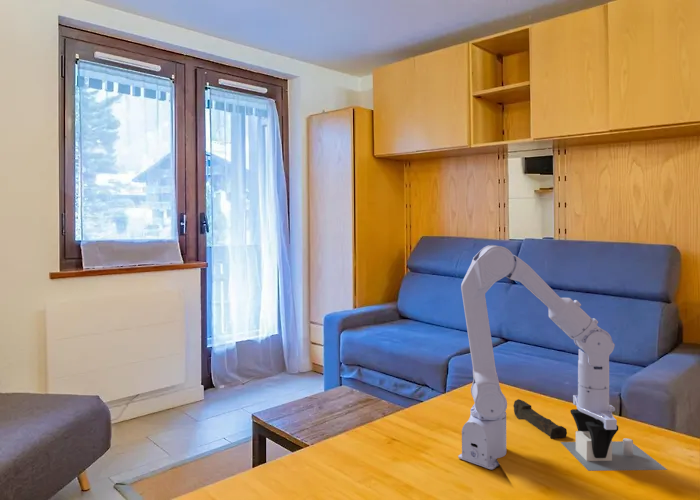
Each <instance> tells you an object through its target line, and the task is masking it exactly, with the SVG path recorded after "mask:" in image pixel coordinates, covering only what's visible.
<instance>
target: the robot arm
mask: <svg viewBox="0 0 700 500" xmlns="http://www.w3.org/2000/svg"><path fill="white" fill-rule="evenodd" d="M505 277H506V278H508V279H510V280H512V281H515V282H519V283H521V285H523V286H524V287H525V288H526V289H527V290H528V291H530V293H532V294H533V295H534V296H535V297H536V298H537V299H539V301H541V303H543V304H544V305H545V306H546V307H547V309H548V310H547V311H548V318H549V319H550V320H551V321H552V322H553V323H554V324H555V325H556V326H557V327H558V328H559V329H560V330H561V331H563V333H564V334H565V335H566V336H568V337H569V339H571V340H573V343H574V344H575V346H576V347H578V360H577V394H573V395H572V402H573V403H572V404H573V405H574V406H576V408H575V409H574V408H573V409H571V410H570V414H571V416H572V418H573V419H574V422H575V425H576V428H577V429H576V430H577V431H589V433H590V436H591V441H592V450H593V454H594V457H595V458H606V456H607V452H608V449H609V446H610V443H611V440H612V441H613V438H614V436H615V435H616V433H617V432H618V431H619V425H618V424H617V422H618V421H617V419H616V418H615V417H614V415H613V412H615V411H616V407H614V406H613V405H612V404H610V355H611V354H612V353H613V352H614V349H615V343H614V341H613V338H612V336H611V334H610V333H609V332H608V331H607V330H605V329H602V328H601V327H599V325H598V323H599V321H598V320H597V319H596V318H594V317H593V318H592V317H591V316H590V315H588V313H586V311H584V310H583V309H582V308H581V307H582V304H581V303H580V301H579V300H577V299H574V300H573V299H572V298H571V297H560V296H559V295H558V293H556V292H555V291H554V289H553V288H551V287H550V285H548V283H547V282H546V281H545V280H544V279H543V278H541V276H539V274H538V273H537V272H536V270H534V269H533V268H532V267H531V266H530V265H529V264H527V262H525V261H524V260H523V259H521V258H520V257H519V256H517V255H515V254H513V253H512V251H510V250H509V248H507V247H505V246H501V245H495V244H489V245H486V246H484V247H483V248H481V249H480V250H479V251H478V252H477V253H476V254H475V255H474V256H473V258H472V260H471V263H470V265H469V267H468V269H467V271H466V273H465V275H464V277H463V280H462V282H461V285H460V290H461V296H462V302H463V303H462V304H463V309H464V310H463V311H464V317H465V324H466V331H467V337H468V344H469V351H470V359H471V365H472V376H473V380H472V384H471V387H470V394H471V397H472V398H473V402H474V404H473V405H472V407H471V408H470V414H469V415H470V416H469V417H468V420H467V421H466V422H465V423H464V425H463V426H462V429H461V453H460V454H459V455H457V456H458V459H461V460H463V461H466V462H469V463H471V464H474V465H477V466H480V467H483V468H485V469H488V470H492V471H493V470H494V469H496V468H497V467H499V466H501V464H500V463H499V460H498V459H500V458H503V457H505V456H506V454H507V412H506V411H507V408H508V401H507V398H506V396H505V394H504V393H503V392H502V389H501V385H500V381H499V376H498V373H497V368H496V362H495V353H494V347H493V340H492V333H491V326H490V320H489V313H488V312H489V311H488V306H487V299H486V293H487V292H488V291H489V290H490V289H491V287H493V285H494V284H495V283H496V282H498V281H501V279H504V278H505Z"/></svg>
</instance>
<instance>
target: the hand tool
mask: <svg viewBox="0 0 700 500" xmlns="http://www.w3.org/2000/svg"><path fill="white" fill-rule="evenodd" d="M513 402H514V403H513V411H514V412H513V413H514V416H515V417H516V418H517V419H518V420H521V421H522V420H525V421H526V422H527V423H529V424H531V425H532V426H533V427H535V428H536V429H538V430H539V431H541V432H542V433H544V434H545V435H547V436H548V437H549V439H551V440H555V439H556V440H559V439H564V438H567V434H568V432H567V431H568V430H567V428H565V427H564V426H562V425H558V424H556V423H555V422H554V421H552V419H549V418H546V417H545V416H543V415H542V414H540V413H539V412H537V411H536V410H533V408H532V405H531V404H529V403H527V402H526V401H524V400H522V399H519V398H518V399H516V400H514V401H513Z"/></svg>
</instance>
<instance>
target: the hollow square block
mask: <svg viewBox="0 0 700 500" xmlns="http://www.w3.org/2000/svg"><path fill="white" fill-rule="evenodd" d="M575 442H576V451H577V452H578V453H579V454H580V455H581V456H582V457H583V458H584V459H585V460H586V461H612V442H613V439H612V440H611V443H610V446H609V449H608V452H607V456H606V458H595V457H594V454H593V450H592V441H591V436H590V433H589V431H578V430H576V431H575Z"/></svg>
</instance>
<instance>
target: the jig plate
mask: <svg viewBox="0 0 700 500" xmlns="http://www.w3.org/2000/svg"><path fill="white" fill-rule="evenodd" d="M560 443H561V445H562V446H564V447H565V449H566V450H567V451H569V453H570V454H571V455H572V456H573V457H574V458H575V459H576V460H577V461H578V462H579V463H580V464H581V465H582V467H584V468H585V469H586V470H587V471H594V472H595V471H597V472H598V471H602V472H604V471H605V472H606V471H663V470H664V471H665V470H667V471H668V468H666V467H665V466H663V465H662V464H661V463H659V461H657V460H656V459H654V458H653V457H652V456H650V455H649V454H647V453H646V452H645V451H644V450H643V449H641V448H640V447H638V446H637V445H636V444H635V443H634V441H633V439H631V438H626V437H625V438H623V439H622V440H621V441H612V461H586V460H585V459H584V458H583V457H582V456H581V455H580V454H579V453H578V452H577V451H576V441H560Z"/></svg>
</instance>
